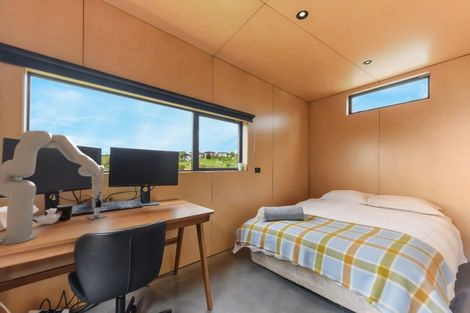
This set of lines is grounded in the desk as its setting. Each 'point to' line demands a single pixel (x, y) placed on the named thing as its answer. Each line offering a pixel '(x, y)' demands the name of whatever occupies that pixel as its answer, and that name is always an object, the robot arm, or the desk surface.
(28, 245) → the desk surface
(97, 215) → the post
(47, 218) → the duck figurine
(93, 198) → the cap
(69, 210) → the coffee mug
